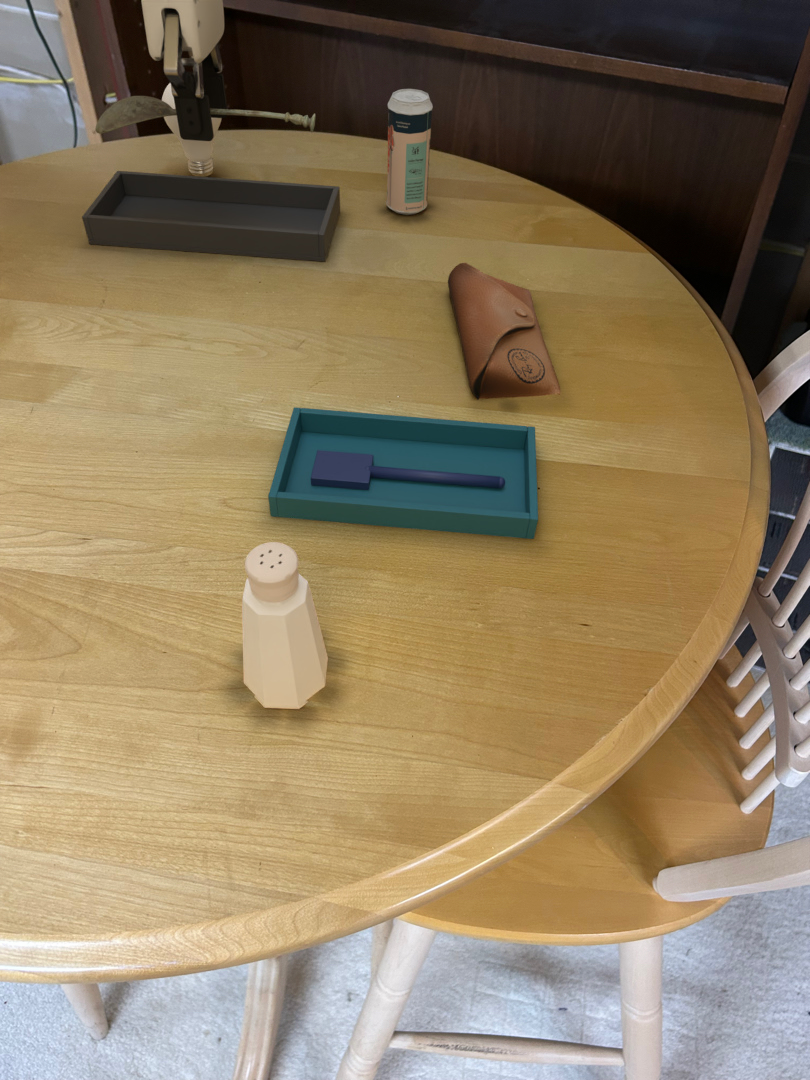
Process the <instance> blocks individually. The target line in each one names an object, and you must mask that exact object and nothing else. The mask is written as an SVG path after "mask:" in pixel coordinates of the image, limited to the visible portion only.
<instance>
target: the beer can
mask: <svg viewBox="0 0 810 1080" xmlns="http://www.w3.org/2000/svg"><path fill="white" fill-rule="evenodd" d="M433 107H434V106H433V103H432V100H431V98H430V96H429V93H428V92H426V91H423V90H421V89H417V88H416V89H415V88H402V89H397V90H396V91H393V92H392V94H391V96H390V98H389V100H388V102H387V108H388V115H387V117H388V118H387V119H388V120H387V170H386V171H387V172H386V173H387V175H386V177H387V178H386V181H387V182H386V184H387V185H386V200H385V204H386V207H387V208H389V209H390V210H392V211H393V212H394V213H397V214H399V215H404V216H405V215H406V216H410V215H415V214H418V213H420V212H422V211H424V210H425V209H426V208H427V207H428V190H429V172H430V153H431V134H432V118H433V117H432V115H433Z"/></svg>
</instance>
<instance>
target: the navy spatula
mask: <svg viewBox="0 0 810 1080" xmlns="http://www.w3.org/2000/svg"><path fill="white" fill-rule="evenodd" d="M373 457H374V456H373V455H371V454H358V453H346V452H334V451H322V450H317V454H316V458H315V462H314V466H313V470H312V474H311V485H313V486H325V487H337V488H349V489H361V490H369V486H370V480H371V478H381V479H393V480H405V481H417V482H429V483H441V484H453V485H465V486H476V487H488V488H502V487H504V485H505V479H504V478H503V477H499V476H487V475H475V474H463V473H451V472H439V471H427V470H415V469H403V468H391V467H379V466H373Z"/></svg>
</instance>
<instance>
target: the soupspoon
mask: <svg viewBox="0 0 810 1080" xmlns="http://www.w3.org/2000/svg"><path fill="white" fill-rule="evenodd" d="M210 112H211V114H214V115H227V116H241V117H257V118H269V119H278V120H279V119H280V120H284V122H285V123H288V122H289V121H290V122H291V123H292V124H294V125H297V126H298V125H299V126H303V128H305V129H306V128H308V127H309V129H310V133H313V132H314V129H315V126H316V113H313V114H312V116H311V117H309V115H308V114H306V115H304V116H303V115H301V114H299V113H294V114H290V112H288V111H287V112H286V113H282V112H281V113H280V112H273V111H272V112H271V111H262V110H250V109H232V108H231V109H229V108H227V109H214V108H210ZM165 116H177V114H176V109H173V108H172V107H171V106H170V105H169V104H167V103H165V102H164V101H162V99H159V98H157V97H153V96H148V95H132V96H127V97H124V98H122V99H120V100H118V101H115V103H112V104H111V105H110V106H109V107H108V108H107V109H105V111H104V112H103V113H102V114H101V115H100V117H99V118H98V119H97V123H96V124H95V130H94V131H95V133H97V134H99V135H100V134H105V133H109V132H112V131H115V130H118V129H122V128H125V127H128V126H132V125H134V124H138V123H141V122H142V123H143V122H146V121H149V120H154V119H158V118H159V119H160V118H164V117H165Z"/></svg>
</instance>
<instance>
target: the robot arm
mask: <svg viewBox="0 0 810 1080" xmlns="http://www.w3.org/2000/svg"><path fill="white" fill-rule="evenodd" d="M140 2H141V9H142V15H143V22H144V23H143V24H144V30H145V35H146V43H147V48H148V53H149V56H150V57H151V58H152V60H154V61H157V62H159V61H161V60H162V59H163V72H164V75H165V77H166V78H167V79H168V82H169V83H171V91H172V95H173V97H174V102H175V108H176V114H177V120H178V126H179V132H180V137H181V138H182V139H184V140H196V141H211V140H212V139H213V137H214V134H213V126H212V119H211V118H221V119H225V118H227V116H228V115H214V114H211V112H210V108H214V109H228V103H227V95H226V87H225V86H226V85H225V78H224V73H222V72H223V60H222V57H221V56H222V55H221V51H220V46H221V45H220V41H221V39H222V37H223V35H224V32H225V10H224V0H141V1H140ZM183 52H188V56H189V58H186V57H183ZM185 67H191V68H192V70H193V71H186V70H185Z"/></svg>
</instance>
